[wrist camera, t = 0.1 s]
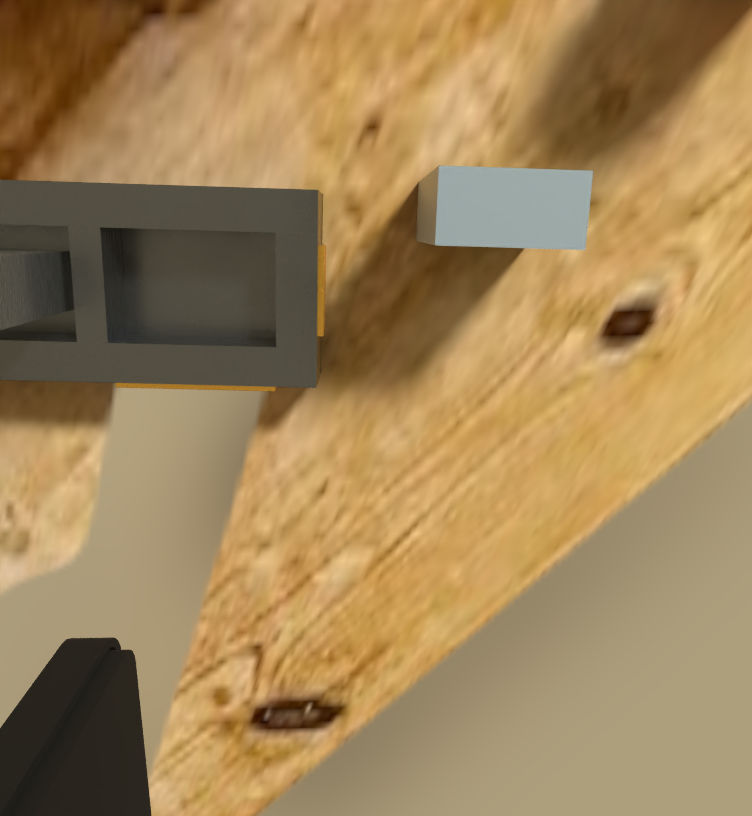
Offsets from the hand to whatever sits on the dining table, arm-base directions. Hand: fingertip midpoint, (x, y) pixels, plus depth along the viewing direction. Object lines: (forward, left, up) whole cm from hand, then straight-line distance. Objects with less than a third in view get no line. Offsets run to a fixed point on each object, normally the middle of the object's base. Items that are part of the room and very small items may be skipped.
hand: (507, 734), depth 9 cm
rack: (-3, -15, -31) cm, 35 cm away
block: (-7, +4, -31) cm, 32 cm away
